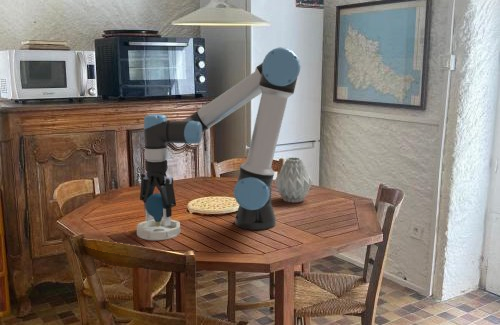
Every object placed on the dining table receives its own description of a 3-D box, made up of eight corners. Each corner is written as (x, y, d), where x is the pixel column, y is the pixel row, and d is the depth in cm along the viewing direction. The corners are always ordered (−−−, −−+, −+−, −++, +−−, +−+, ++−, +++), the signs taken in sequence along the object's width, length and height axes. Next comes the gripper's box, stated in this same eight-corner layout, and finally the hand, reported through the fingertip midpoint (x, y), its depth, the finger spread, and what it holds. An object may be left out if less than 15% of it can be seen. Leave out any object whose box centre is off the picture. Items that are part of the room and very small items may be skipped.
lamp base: (189, 231, 181) (188, 224, 180) (157, 243, 169) (157, 235, 168) (159, 223, 190) (159, 216, 189) (128, 234, 178) (127, 226, 177)
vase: (271, 204, 215) (271, 161, 212) (278, 194, 231) (278, 154, 227) (309, 206, 212) (310, 163, 208) (314, 196, 227) (315, 156, 224)
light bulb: (147, 231, 174) (145, 197, 171) (145, 223, 182) (144, 191, 179) (171, 229, 176) (170, 195, 174) (168, 221, 184) (168, 189, 182)
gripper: (186, 161, 171) (187, 226, 175) (143, 154, 183) (146, 214, 188) (170, 165, 165) (171, 231, 169) (127, 157, 177) (130, 219, 182)
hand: (158, 222), depth 179 cm, fingers closed on light bulb, 8 cm apart
